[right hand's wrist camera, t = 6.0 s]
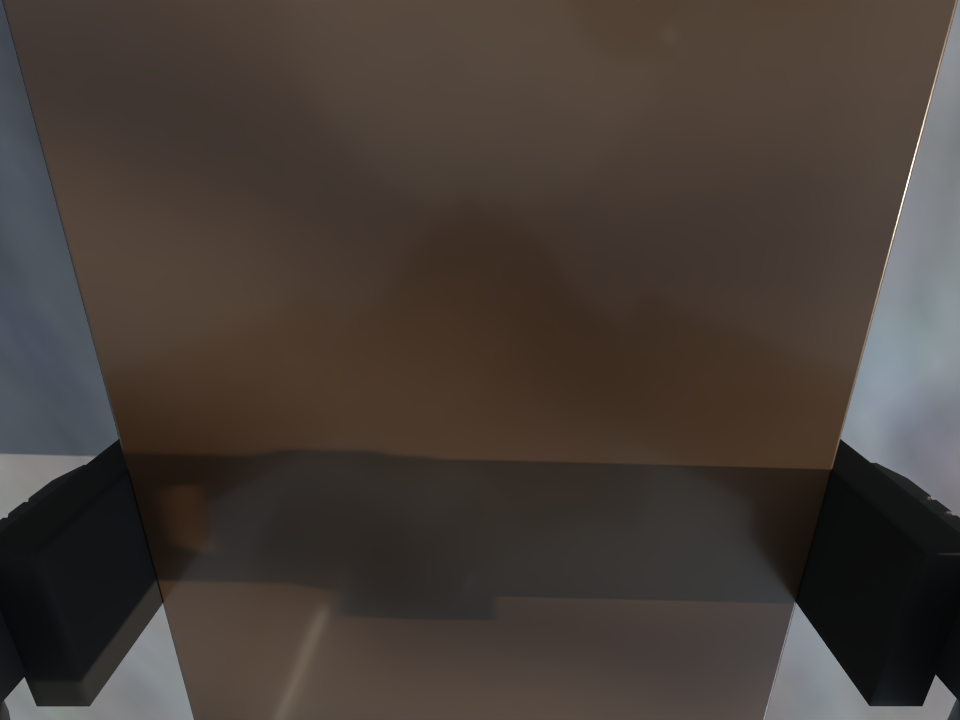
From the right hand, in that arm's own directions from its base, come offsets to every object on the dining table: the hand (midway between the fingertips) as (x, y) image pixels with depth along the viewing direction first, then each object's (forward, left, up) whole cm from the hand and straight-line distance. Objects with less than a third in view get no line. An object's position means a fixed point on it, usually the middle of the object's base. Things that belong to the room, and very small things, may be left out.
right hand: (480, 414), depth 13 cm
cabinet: (+3, +5, -6) cm, 8 cm away
